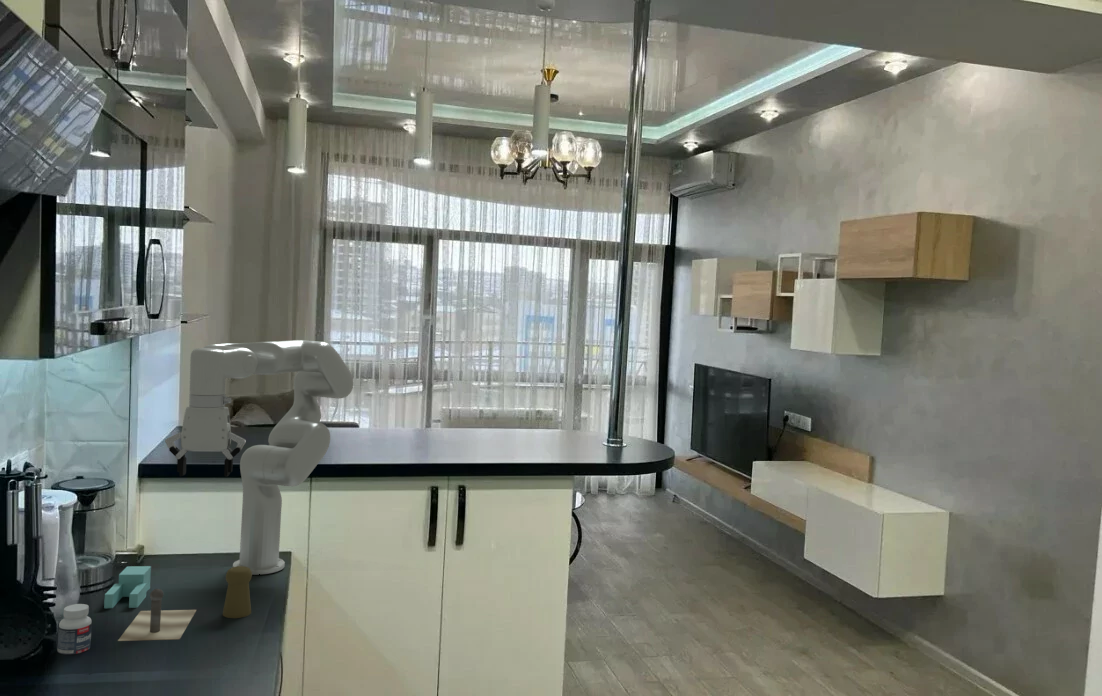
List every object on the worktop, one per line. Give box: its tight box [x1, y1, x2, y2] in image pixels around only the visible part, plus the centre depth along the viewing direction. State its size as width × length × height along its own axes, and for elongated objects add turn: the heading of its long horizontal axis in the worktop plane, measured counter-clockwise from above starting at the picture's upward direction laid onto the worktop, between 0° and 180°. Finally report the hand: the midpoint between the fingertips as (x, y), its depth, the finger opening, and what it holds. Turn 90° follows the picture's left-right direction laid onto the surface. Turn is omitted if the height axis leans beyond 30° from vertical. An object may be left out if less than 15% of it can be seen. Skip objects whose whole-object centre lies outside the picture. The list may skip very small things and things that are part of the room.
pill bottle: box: [56, 603, 93, 655], centre depth 147 cm, size 5×5×9 cm
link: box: [103, 565, 152, 609], centre depth 174 cm, size 13×6×6 cm, turn 13°
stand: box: [117, 588, 197, 642], centre depth 160 cm, size 16×11×10 cm
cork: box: [222, 566, 253, 619], centre depth 169 cm, size 6×6×11 cm
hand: (205, 475), depth 183 cm, fingers open, 9 cm apart
